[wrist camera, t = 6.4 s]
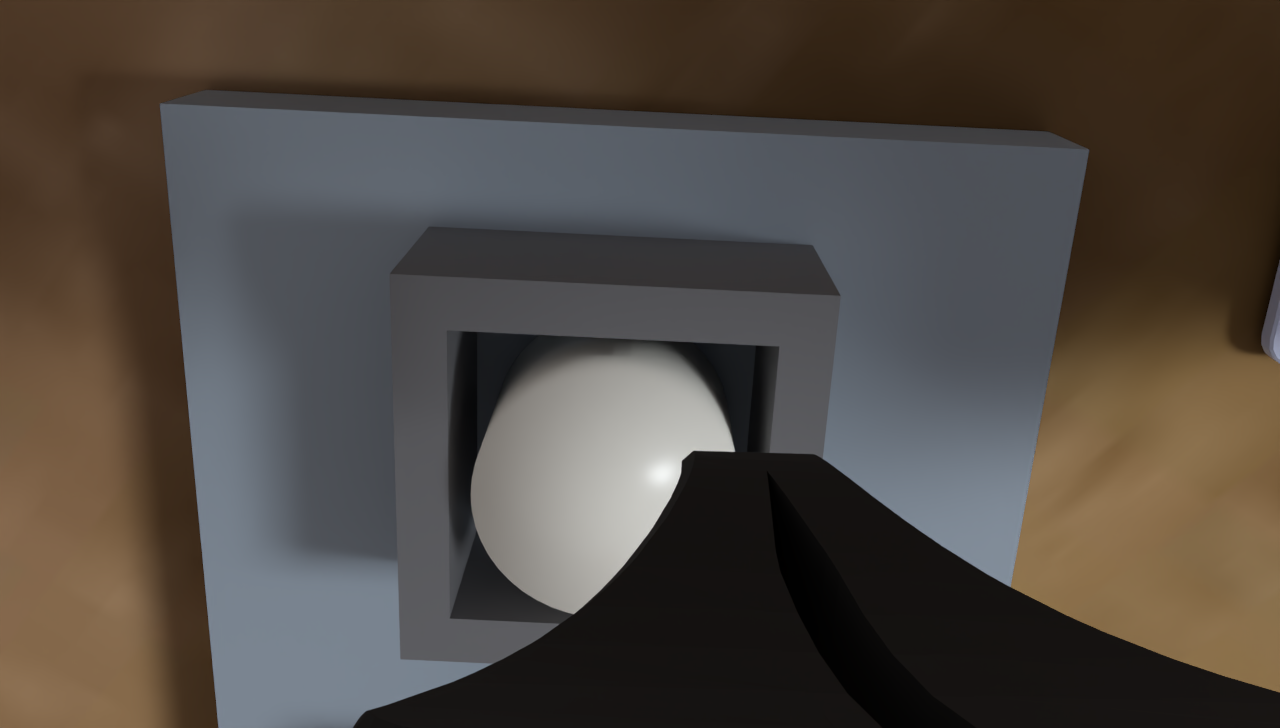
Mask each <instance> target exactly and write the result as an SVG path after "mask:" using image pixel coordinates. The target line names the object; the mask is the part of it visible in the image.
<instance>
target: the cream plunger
mask: <svg viewBox="0 0 1280 728" xmlns="http://www.w3.org/2000/svg"><path fill="white" fill-rule="evenodd" d="M693 451H724V452H735V448H734V442H733V436H732V430H731V424H730V418H729V412H728V406H727V400H726V396H725V393H724V389H723V386H722V384H721V381H720V379H719V377H718V375H717V373H716V371H715V369H714V368H713V366H712V364H711V363H710V361H709V360H708V359H707V357H706V356H705V355H704V354H703V353H702V351H701V350H700V349H699V348H698V347H697V346H696V345H695V344H694V343H693V342H676V341H656V340H635V339H614V338H594V337H573V336H552V335H539V336H538V337H537V338H536V339H534V340H533V341H532V342H531V343H530V344H529V345H528V346H527V347H526V348H525V349H524V350H523V351H522V352H521V353H520V355H519V356H518V357H517V359H516V360H515V361H514V363H513V364H512V366H511V368H510V370H509V372H508V373H507V375H506V377H505V380H504V383H503V385H502V388H501V391H500V394H499V396H498V399H497V402H496V405H495V408H494V411H493V414H492V416H491V419H490V422H489V425H488V428H487V431H486V434H485V436H484V439H483V442H482V445H481V448H480V451H479V453H478V456H477V459H476V462H475V466H474V471H473V475H472V482H471V507H472V514H473V518H474V523H475V527H476V530H477V532H478V535H479V537H480V540H481V542H482V544H483V546H484V548H485V550H486V552H487V553H488V555H489V557H490V558H491V559H492V561H493V562H494V564H495V565H496V566H497V568H498V569H499V570H500V571H501V572H502V573H503V574H504V575H505V576H506V577H507V578H508V579H509V581H511V582H512V583H513V584H514V585H516V586H517V587H518V588H519V589H520V590H522V591H523V592H525V593H526V594H528V595H529V596H531V597H533V598H534V599H536V600H538V601H540V602H542V603H544V604H546V605H548V606H550V607H552V608H555V609H558V610H561V611H564V612H567V613H571V614H575V613H576V612H577V611H578V610H580V609H581V608H582V607H583V606H584V605H585V604H586V603H587V602H588V601H589V600H591V599H592V598H593V597H594V596H595V595H596V594H597V593H598V592H599V591H600V590H601V589H602V588H603V587H604V586H605V585H606V584H607V583H608V582H609V581H610V580H611V579H612V578H613V577H614V576H615V575H616V573H617V572H618V571H619V570H620V569H621V568H622V567H623V566H624V565H625V563H626V562H627V561H628V559H629V558H630V557H631V556H632V554H633V553H634V552H635V550H636V549H637V548H638V547H639V545H640V544H641V543H642V541H643V540H644V539H645V538H646V536H647V535H648V534H649V532H650V531H651V529H652V528H653V526H654V525H655V523H656V521H657V520H658V518H659V516H660V515H661V513H662V511H663V510H664V508H665V506H666V505H667V503H668V501H669V500H670V498H671V496H672V494H673V492H674V489H675V487H676V485H677V483H678V481H679V478H680V475H681V465H682V460H683V459H684V458H686V457H687V456H688V455H689V454H690V453H691V452H693Z"/></svg>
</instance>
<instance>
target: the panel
mask: <svg viewBox="0 0 1280 728" xmlns="http://www.w3.org/2000/svg"><path fill="white" fill-rule="evenodd" d="M160 113H161V123H162V134H163V144H164V155H165V166H166V176H167V187H168V197H169V208H170V219H171V229H172V240H173V250H174V261H175V272H176V282H177V293H178V303H179V314H180V325H181V335H182V346H183V356H184V367H185V378H186V388H187V399H188V410H189V420H190V431H191V441H192V452H193V463H194V473H195V484H196V494H197V505H198V516H199V526H200V537H201V547H202V558H203V569H204V579H205V590H206V600H207V611H208V622H209V632H210V643H211V653H212V664H213V675H214V685H215V696H216V707H217V717H218V728H353V727H354V725H355V724H356V722H357V720H358V719H359V717H360V716H361V715H362V714H363V713H364V712H365V711H368V710H371V709H375V708H378V707H382V706H385V705H388V704H391V703H394V702H397V701H400V700H402V699H405V698H408V697H411V696H414V695H417V694H420V693H422V692H425V691H428V690H431V689H434V688H437V687H440V686H443V685H445V684H448V683H451V682H454V681H456V680H458V679H461V678H463V677H465V676H468V675H470V674H472V673H475V672H477V671H479V670H481V669H483V668H485V667H487V666H489V665H491V664H493V663H495V662H497V661H500V660H502V659H504V658H506V657H507V656H509V655H511V654H513V653H515V652H516V651H518V650H520V649H522V648H524V647H525V646H527V645H529V644H531V643H533V642H534V641H536V640H537V639H539V638H541V637H542V636H543V635H545V634H546V633H548V632H549V631H551V630H552V629H553V628H555V627H556V626H558V625H559V624H560V623H562V622H563V621H565V620H566V619H568V618H569V617H570V616H572V615H573V614H571V613H567V612H564V611H561V610H558V609H555V608H552V607H550V606H548V605H546V604H544V603H542V602H540V601H538V600H536V599H534V598H533V597H531V596H529V595H528V594H526V593H525V592H523V591H522V590H520V589H519V588H518V587H517V586H516V585H514V584H513V583H512V582H511V581H509V579H508V578H507V577H506V576H505V575H504V574H503V573H502V572H501V571H500V570H499V569H498V568H497V566H496V565H495V564H494V562H493V561H492V559H491V558H490V557H489V555H488V553H487V552H486V550H485V548H484V546H483V544H482V542H481V540H480V537H479V535H478V532H477V530H476V527H475V523H474V518H473V514H472V507H471V482H472V475H473V471H474V466H475V462H476V459H477V456H478V453H479V451H480V448H481V445H482V442H483V439H484V436H485V434H486V431H487V428H488V425H489V422H490V419H491V416H492V414H493V411H494V408H495V405H496V402H497V399H498V396H499V394H500V391H501V388H502V385H503V383H504V380H505V377H506V375H507V373H508V372H509V370H510V368H511V366H512V364H513V363H514V361H515V360H516V359H517V357H518V356H519V355H520V353H521V352H522V351H523V350H524V349H525V348H526V347H527V346H528V345H529V344H530V343H531V342H532V341H533V340H534V339H536V338H537V337H538V336H539V335H552V336H573V337H594V338H614V339H635V340H656V341H676V342H693V343H694V344H695V345H696V346H697V347H698V348H699V349H700V350H701V351H702V353H703V354H704V355H705V356H706V357H707V359H708V360H709V361H710V363H711V364H712V366H713V368H714V369H715V371H716V373H717V375H718V377H719V379H720V381H721V384H722V386H723V389H724V393H725V396H726V400H727V406H728V412H729V418H730V424H731V430H732V436H733V442H734V448H735V452H759V453H793V454H815V455H817V456H819V457H821V458H822V459H824V460H825V461H827V462H828V463H830V464H831V465H832V466H834V467H835V468H836V469H838V470H839V471H840V472H842V473H843V474H844V475H846V476H847V477H848V478H850V479H851V480H852V481H854V482H855V483H856V484H857V485H859V486H860V487H861V488H863V489H864V490H865V491H866V492H868V493H869V494H870V495H872V496H873V497H874V498H876V499H877V500H878V501H880V502H881V503H882V504H884V505H885V506H886V507H888V508H889V509H890V510H892V511H893V512H894V513H896V514H897V515H898V516H900V517H901V518H902V519H904V520H905V521H907V522H908V523H909V524H911V525H912V526H914V527H915V528H916V529H918V530H919V531H921V532H922V533H924V534H925V535H927V536H928V537H930V538H931V539H932V540H934V541H935V542H937V543H938V544H940V545H941V546H943V547H944V548H946V549H948V550H949V551H951V552H952V553H954V554H956V555H957V556H959V557H960V558H962V559H964V560H965V561H967V562H968V563H970V564H972V565H973V566H975V567H976V568H978V569H980V570H981V571H983V572H984V573H986V574H988V575H990V576H991V577H993V578H995V579H997V580H998V581H1000V582H1002V583H1004V584H1006V585H1007V586H1009V587H1010V586H1011V581H1012V575H1013V570H1014V564H1015V559H1016V553H1017V547H1018V542H1019V536H1020V531H1021V525H1022V520H1023V514H1024V509H1025V503H1026V498H1027V492H1028V487H1029V481H1030V476H1031V470H1032V464H1033V459H1034V453H1035V448H1036V442H1037V437H1038V431H1039V426H1040V420H1041V415H1042V409H1043V404H1044V398H1045V393H1046V387H1047V381H1048V376H1049V370H1050V365H1051V359H1052V354H1053V348H1054V343H1055V337H1056V332H1057V326H1058V321H1059V315H1060V309H1061V304H1062V298H1063V293H1064V287H1065V282H1066V276H1067V271H1068V265H1069V260H1070V254H1071V249H1072V243H1073V238H1074V232H1075V226H1076V221H1077V215H1078V210H1079V204H1080V199H1081V193H1082V188H1083V182H1084V177H1085V171H1086V166H1087V160H1088V155H1089V149H1087V148H1085V147H1083V146H1080V145H1078V144H1076V143H1073V142H1071V141H1069V140H1067V139H1064V138H1062V137H1060V136H1058V135H1055V134H1053V133H1051V132H1047V131H1027V130H1007V129H986V128H966V127H946V126H926V125H906V124H885V123H865V122H845V121H825V120H805V119H785V118H764V117H744V116H724V115H704V114H684V113H663V112H643V111H623V110H603V109H583V108H562V107H542V106H522V105H502V104H482V103H462V102H441V101H421V100H401V99H381V98H361V97H340V96H320V95H300V94H280V93H260V92H240V91H219V90H204V91H200V92H197V93H193V94H190V95H187V96H183V97H180V98H177V99H173V100H170V101H167V102H163V103H160Z"/></svg>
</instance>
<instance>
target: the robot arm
mask: <svg viewBox="0 0 1280 728" xmlns="http://www.w3.org/2000/svg"><path fill="white" fill-rule="evenodd" d="M1261 345H1262V347H1263V350H1264V352H1265V353H1266V354H1267V355H1268V356H1269V357H1271V358H1272V359H1273V360H1275V361H1277V362H1278V363H1280V261H1279V265H1278V269H1277V273H1276V278H1275V282H1274V286H1273V290H1272V294H1271V298H1270V302H1269V306H1268V310H1267V314H1266V318H1265V322H1264V326H1263V331H1262V335H1261ZM353 728H1280V693H1279V692H1276V691H1272V690H1269V689H1265V688H1262V687H1259V686H1255V685H1252V684H1248V683H1245V682H1242V681H1238V680H1235V679H1231V678H1228V677H1225V676H1222V675H1219V674H1216V673H1213V672H1210V671H1207V670H1204V669H1201V668H1198V667H1195V666H1192V665H1189V664H1186V663H1183V662H1180V661H1177V660H1174V659H1171V658H1169V657H1166V656H1163V655H1161V654H1158V653H1156V652H1153V651H1151V650H1148V649H1146V648H1143V647H1140V646H1138V645H1135V644H1133V643H1130V642H1128V641H1125V640H1123V639H1120V638H1118V637H1115V636H1112V635H1110V634H1107V633H1105V632H1102V631H1100V630H1098V629H1096V628H1093V627H1091V626H1089V625H1087V624H1084V623H1082V622H1080V621H1077V620H1075V619H1073V618H1071V617H1069V616H1066V615H1064V614H1062V613H1060V612H1058V611H1056V610H1054V609H1052V608H1050V607H1049V606H1047V605H1045V604H1043V603H1041V602H1039V601H1037V600H1035V599H1033V598H1031V597H1029V596H1027V595H1025V594H1023V593H1021V592H1019V591H1017V590H1015V589H1013V588H1011V587H1009V586H1007V585H1006V584H1004V583H1002V582H1000V581H998V580H997V579H995V578H993V577H991V576H990V575H988V574H986V573H984V572H983V571H981V570H980V569H978V568H976V567H975V566H973V565H972V564H970V563H968V562H967V561H965V560H964V559H962V558H960V557H959V556H957V555H956V554H954V553H952V552H951V551H949V550H948V549H946V548H944V547H943V546H941V545H940V544H938V543H937V542H935V541H934V540H932V539H931V538H930V537H928V536H927V535H925V534H924V533H922V532H921V531H919V530H918V529H916V528H915V527H914V526H912V525H911V524H909V523H908V522H907V521H905V520H904V519H902V518H901V517H900V516H898V515H897V514H896V513H894V512H893V511H892V510H890V509H889V508H888V507H886V506H885V505H884V504H882V503H881V502H880V501H878V500H877V499H876V498H874V497H873V496H872V495H870V494H869V493H868V492H866V491H865V490H864V489H863V488H861V487H860V486H859V485H857V484H856V483H855V482H854V481H852V480H851V479H850V478H848V477H847V476H846V475H844V474H843V473H842V472H840V471H839V470H838V469H836V468H835V467H834V466H832V465H831V464H830V463H828V462H827V461H825V460H824V459H822V458H821V457H819V456H817V455H815V454H793V453H759V452H724V451H693V452H691V453H690V454H689V455H688V456H687V457H686V458H684V459H683V460H682V465H681V475H680V478H679V481H678V483H677V485H676V487H675V489H674V492H673V494H672V496H671V498H670V500H669V501H668V503H667V505H666V506H665V508H664V510H663V511H662V513H661V515H660V516H659V518H658V520H657V521H656V523H655V525H654V526H653V528H652V529H651V531H650V532H649V534H648V535H647V536H646V538H645V539H644V540H643V541H642V543H641V544H640V545H639V547H638V548H637V549H636V550H635V552H634V553H633V554H632V556H631V557H630V558H629V559H628V561H627V562H626V563H625V565H624V566H623V567H622V568H621V569H620V570H619V571H618V572H617V573H616V575H615V576H614V577H613V578H612V579H611V580H610V581H609V582H608V583H607V584H606V585H605V586H604V587H603V588H602V589H601V590H600V591H599V592H598V593H597V594H596V595H595V596H594V597H593V598H592V599H591V600H589V601H588V602H587V603H586V604H585V605H584V606H583V607H582V608H581V609H580V610H578V611H577V612H576V613H575V614H573V615H572V616H570V617H569V618H568V619H566V620H565V621H563V622H562V623H560V624H559V625H558V626H556V627H555V628H553V629H552V630H551V631H549V632H548V633H546V634H545V635H543V636H542V637H541V638H539V639H537V640H536V641H534V642H533V643H531V644H529V645H527V646H525V647H524V648H522V649H520V650H518V651H516V652H515V653H513V654H511V655H509V656H507V657H506V658H504V659H502V660H500V661H497V662H495V663H493V664H491V665H489V666H487V667H485V668H483V669H481V670H479V671H477V672H475V673H472V674H470V675H468V676H465V677H463V678H461V679H458V680H456V681H454V682H451V683H448V684H445V685H443V686H440V687H437V688H434V689H431V690H428V691H425V692H422V693H420V694H417V695H414V696H411V697H408V698H405V699H402V700H400V701H397V702H394V703H391V704H388V705H385V706H382V707H378V708H375V709H371V710H368V711H365V712H364V713H363V714H362V715H361V716H360V717H359V719H358V720H357V722H356V724H355V725H354V727H353Z"/></svg>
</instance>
